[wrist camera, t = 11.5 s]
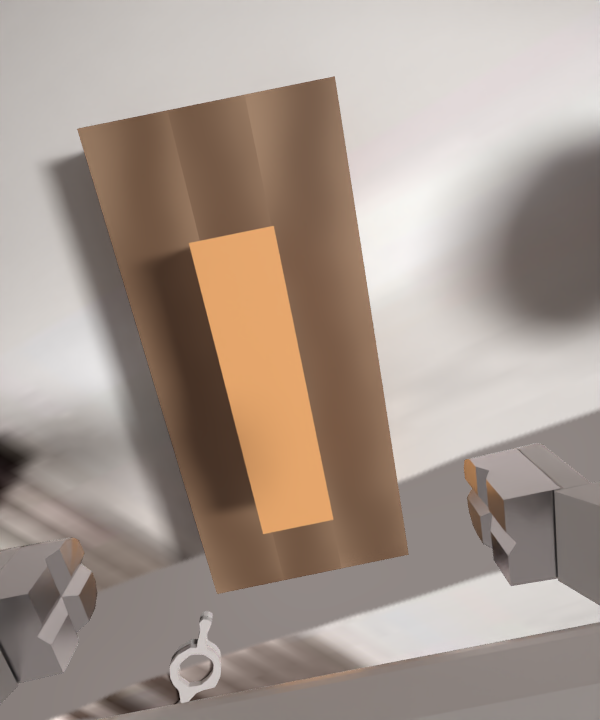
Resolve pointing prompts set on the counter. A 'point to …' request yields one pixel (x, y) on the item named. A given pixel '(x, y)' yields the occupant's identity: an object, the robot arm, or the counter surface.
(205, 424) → the rail
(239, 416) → the orange piece
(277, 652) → the counter surface
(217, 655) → the scissors
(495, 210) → the counter surface
